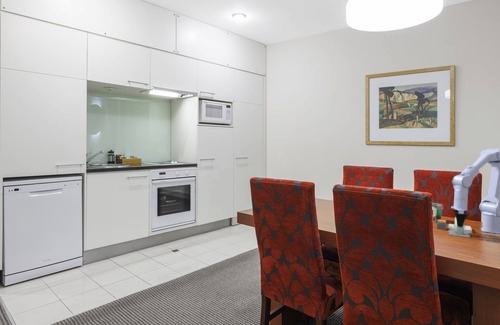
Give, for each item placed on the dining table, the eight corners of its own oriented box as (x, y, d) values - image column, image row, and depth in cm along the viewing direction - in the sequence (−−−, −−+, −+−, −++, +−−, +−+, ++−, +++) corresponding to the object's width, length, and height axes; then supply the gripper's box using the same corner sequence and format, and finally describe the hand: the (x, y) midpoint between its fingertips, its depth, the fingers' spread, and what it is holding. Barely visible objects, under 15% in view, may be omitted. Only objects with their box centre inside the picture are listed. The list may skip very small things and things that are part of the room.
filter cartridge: (463, 233, 166) (464, 216, 165) (463, 234, 162) (464, 218, 162) (454, 231, 168) (454, 215, 167) (454, 233, 164) (455, 217, 164)
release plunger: (445, 227, 176) (445, 220, 176) (445, 229, 173) (446, 221, 173) (437, 226, 178) (438, 219, 178) (437, 228, 175) (438, 220, 175)
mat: (468, 233, 167) (468, 232, 167) (470, 237, 159) (470, 236, 159) (448, 230, 171) (448, 230, 171) (448, 234, 163) (449, 234, 163)
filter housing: (470, 228, 176) (470, 223, 176) (471, 233, 167) (472, 227, 167) (436, 224, 184) (437, 219, 184) (437, 228, 175) (437, 223, 175)
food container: (447, 223, 188) (448, 206, 187) (436, 223, 188) (437, 206, 188) (435, 218, 200) (436, 202, 200) (425, 218, 201) (426, 202, 200)
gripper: (450, 196, 172) (449, 221, 173) (452, 200, 160) (450, 227, 160) (466, 197, 169) (465, 223, 170) (469, 201, 156) (467, 229, 157)
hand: (459, 225), depth 165 cm, fingers open, 7 cm apart
